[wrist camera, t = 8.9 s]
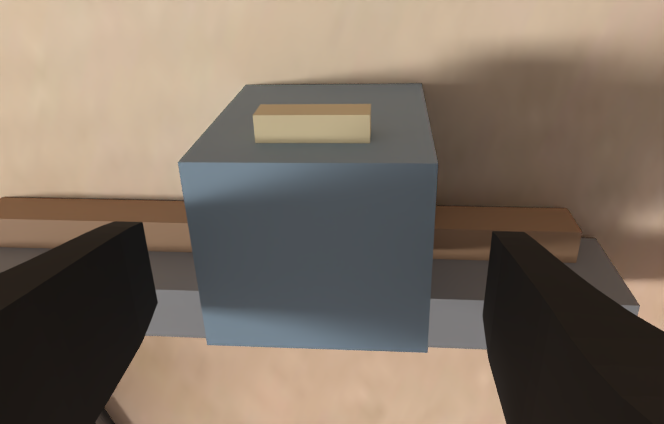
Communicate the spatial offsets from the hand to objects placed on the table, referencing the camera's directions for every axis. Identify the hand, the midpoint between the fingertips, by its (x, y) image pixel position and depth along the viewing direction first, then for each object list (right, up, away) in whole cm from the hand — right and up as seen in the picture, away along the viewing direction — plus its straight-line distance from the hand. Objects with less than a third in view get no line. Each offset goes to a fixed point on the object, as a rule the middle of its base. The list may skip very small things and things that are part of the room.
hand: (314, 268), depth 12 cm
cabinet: (0, +3, +5) cm, 6 cm away
